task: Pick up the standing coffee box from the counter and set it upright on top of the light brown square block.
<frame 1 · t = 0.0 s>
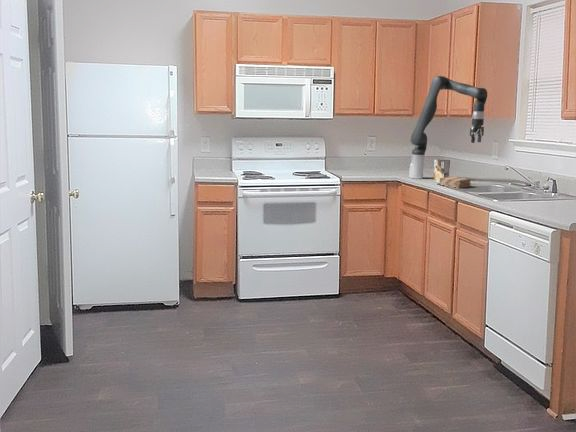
hand: (475, 142, 447), 29 cm above the counter, tool pointing down, fingers open, 8 cm apart
coffee box: (440, 182, 462), on the counter
light brown square block: (454, 185, 447), on the counter
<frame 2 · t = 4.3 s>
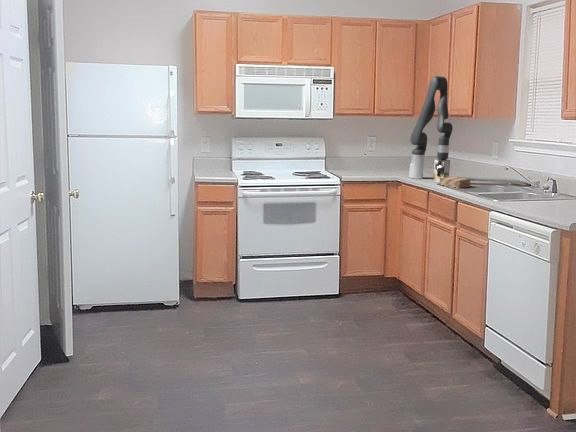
hand: (441, 175, 461), 5 cm above the counter, tool pointing down, fingers closed on coffee box, 6 cm apart
coffee box: (440, 182, 462), on the counter, touching gripper
when the fingers open (12 cm above the counter, at t = 12.3 s): coffee box drops 2 cm, resting on light brown square block.
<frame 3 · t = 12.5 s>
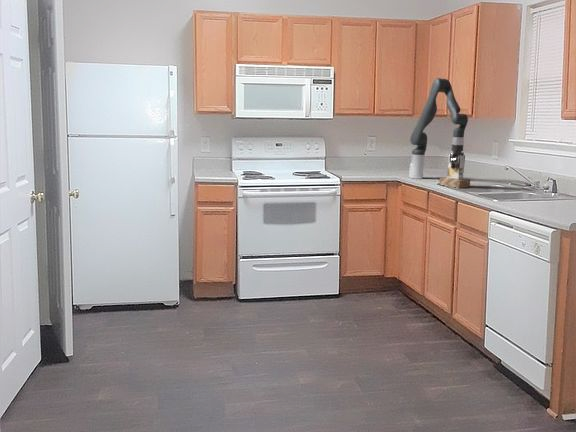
hand: (455, 168, 445), 12 cm above the counter, tool pointing down, fingers open, 8 cm apart
coffee box: (454, 178, 446), point 5 cm above the counter, touching light brown square block
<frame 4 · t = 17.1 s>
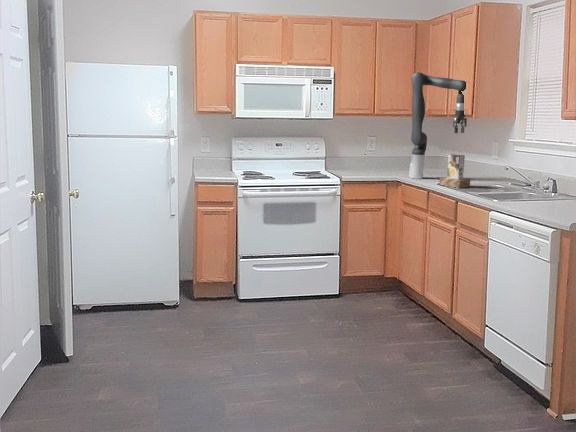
hand: (459, 133, 466), 34 cm above the counter, tool pointing down, fingers open, 8 cm apart
nothing on the counter moved.
at the end: coffee box inside the target area on the light brown square block (0.1 cm from its centre), point 4.8 cm above the light brown square block's base; coffee box tilted 0°; the gripper is holding nothing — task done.
